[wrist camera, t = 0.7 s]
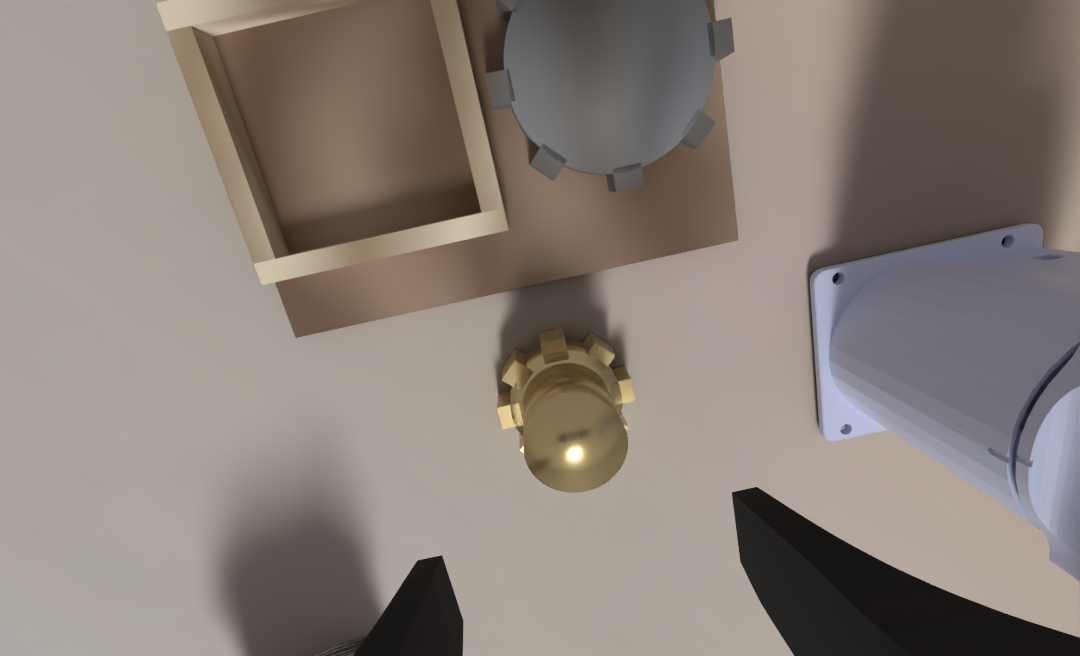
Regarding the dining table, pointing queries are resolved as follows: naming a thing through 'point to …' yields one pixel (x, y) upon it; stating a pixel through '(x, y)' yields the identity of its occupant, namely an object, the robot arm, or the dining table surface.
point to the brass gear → (568, 410)
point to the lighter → (344, 649)
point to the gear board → (457, 141)
